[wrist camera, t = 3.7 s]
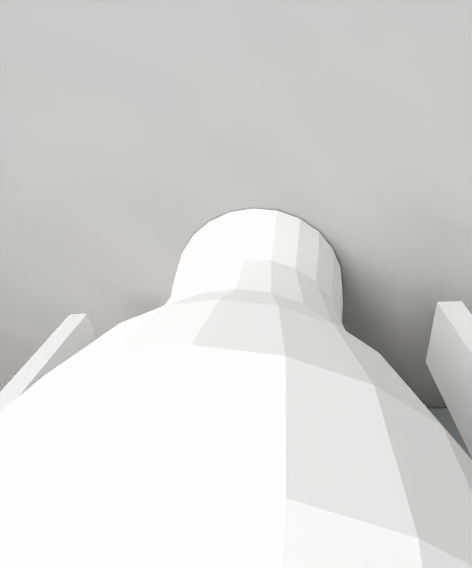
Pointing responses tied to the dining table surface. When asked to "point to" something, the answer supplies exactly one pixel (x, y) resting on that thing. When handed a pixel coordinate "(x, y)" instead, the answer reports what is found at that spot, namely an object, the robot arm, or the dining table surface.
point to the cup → (233, 430)
